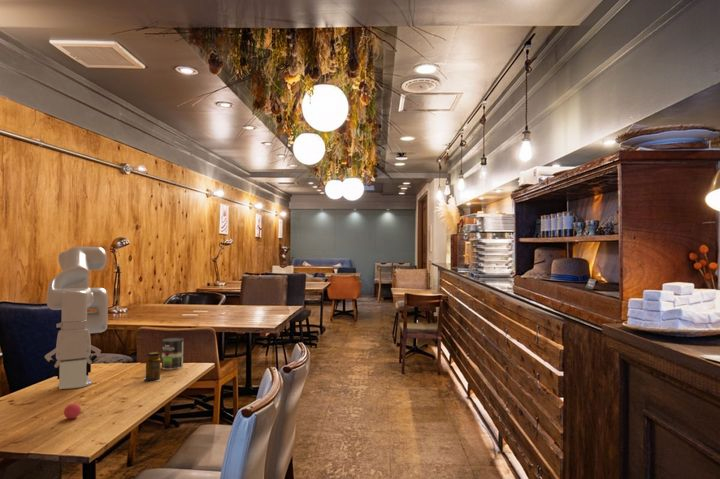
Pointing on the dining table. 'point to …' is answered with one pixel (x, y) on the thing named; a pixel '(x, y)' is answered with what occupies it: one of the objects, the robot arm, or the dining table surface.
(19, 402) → the dining table surface
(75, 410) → the ball
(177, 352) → the coffee can
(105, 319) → the robot arm
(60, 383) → the matte cream cube
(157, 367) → the condiment
